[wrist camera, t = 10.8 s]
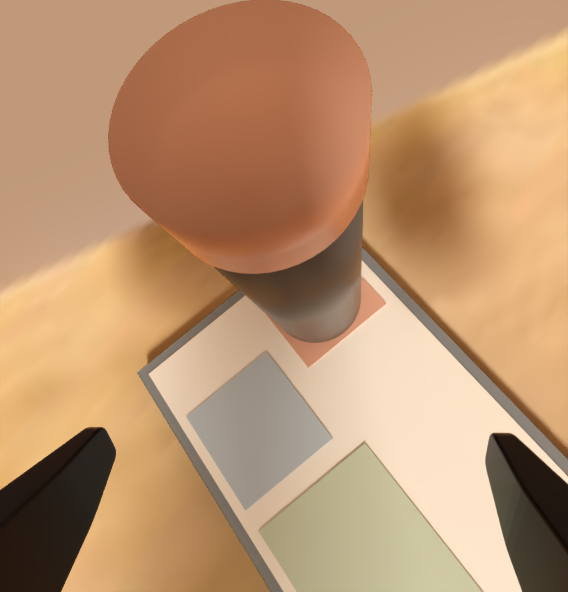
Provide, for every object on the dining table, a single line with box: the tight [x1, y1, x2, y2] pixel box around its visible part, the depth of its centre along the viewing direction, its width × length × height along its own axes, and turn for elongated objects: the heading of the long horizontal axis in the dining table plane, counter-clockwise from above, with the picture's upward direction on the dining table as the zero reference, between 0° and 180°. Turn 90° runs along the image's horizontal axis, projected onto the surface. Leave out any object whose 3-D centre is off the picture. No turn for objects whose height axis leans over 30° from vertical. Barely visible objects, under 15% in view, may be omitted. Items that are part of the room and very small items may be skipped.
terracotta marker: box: [108, 0, 372, 343], centre depth 13 cm, size 5×5×13 cm
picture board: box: [137, 247, 568, 592], centre depth 17 cm, size 18×13×1 cm
